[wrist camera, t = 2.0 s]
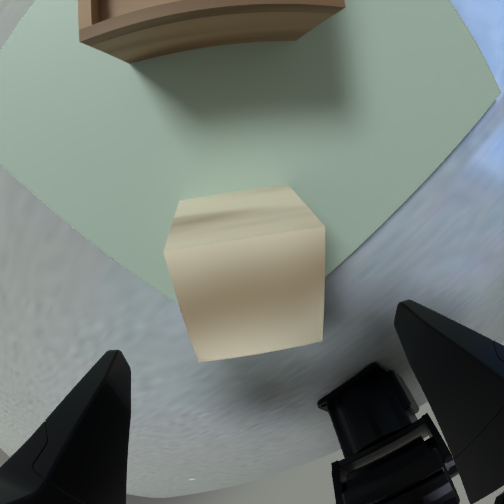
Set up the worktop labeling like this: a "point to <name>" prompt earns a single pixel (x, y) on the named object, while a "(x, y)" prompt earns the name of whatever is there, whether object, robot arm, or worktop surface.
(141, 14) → the walnut socket block
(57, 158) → the board
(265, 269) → the ash block
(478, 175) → the worktop surface
